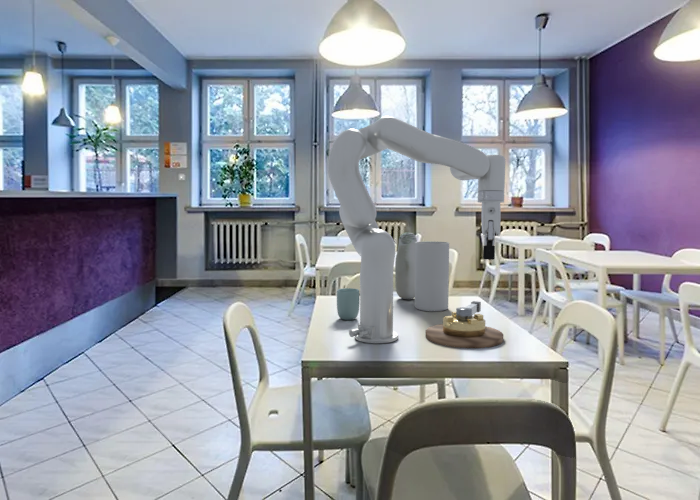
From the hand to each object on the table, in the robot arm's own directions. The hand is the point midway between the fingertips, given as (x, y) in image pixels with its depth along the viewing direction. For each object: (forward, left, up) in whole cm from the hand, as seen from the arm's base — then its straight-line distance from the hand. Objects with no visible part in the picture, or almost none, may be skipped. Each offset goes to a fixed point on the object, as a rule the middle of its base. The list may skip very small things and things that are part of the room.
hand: (488, 259), depth 141 cm
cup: (-16, +43, -23) cm, 51 cm away
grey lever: (-6, +3, -21) cm, 22 cm away
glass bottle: (+27, +50, -23) cm, 62 cm away
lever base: (-10, +2, -22) cm, 25 cm away
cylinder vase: (+18, +32, -23) cm, 43 cm away
